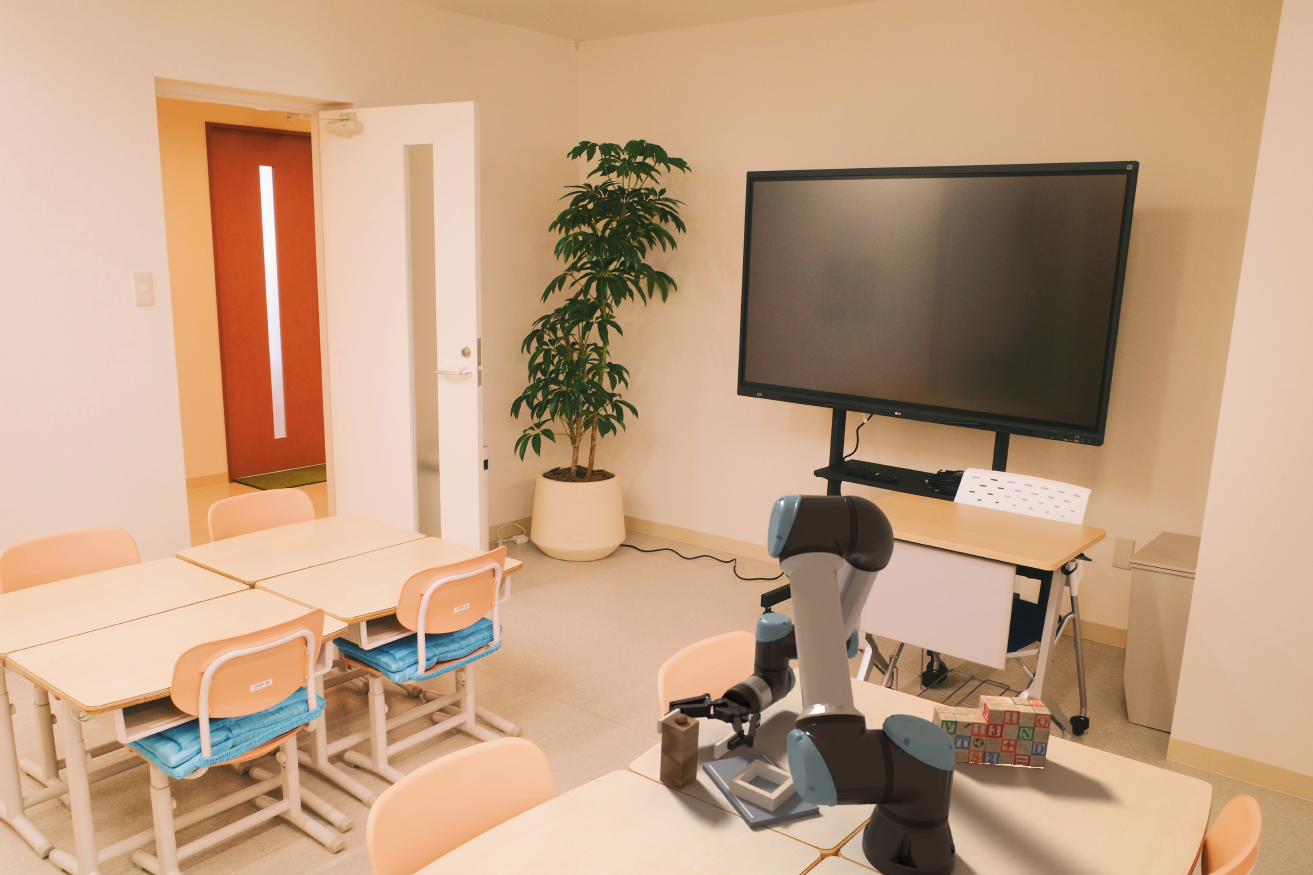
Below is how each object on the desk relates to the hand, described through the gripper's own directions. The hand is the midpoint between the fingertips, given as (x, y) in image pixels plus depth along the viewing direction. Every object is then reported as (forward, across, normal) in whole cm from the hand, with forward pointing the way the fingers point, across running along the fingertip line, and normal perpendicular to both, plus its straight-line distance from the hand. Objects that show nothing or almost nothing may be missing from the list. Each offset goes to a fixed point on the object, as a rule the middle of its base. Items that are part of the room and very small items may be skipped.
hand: (686, 738), depth 170 cm
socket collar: (-3, -16, -7) cm, 17 cm away
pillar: (+3, -1, -7) cm, 8 cm away
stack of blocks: (-46, -43, -7) cm, 63 cm away
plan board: (-4, -14, -7) cm, 16 cm away
